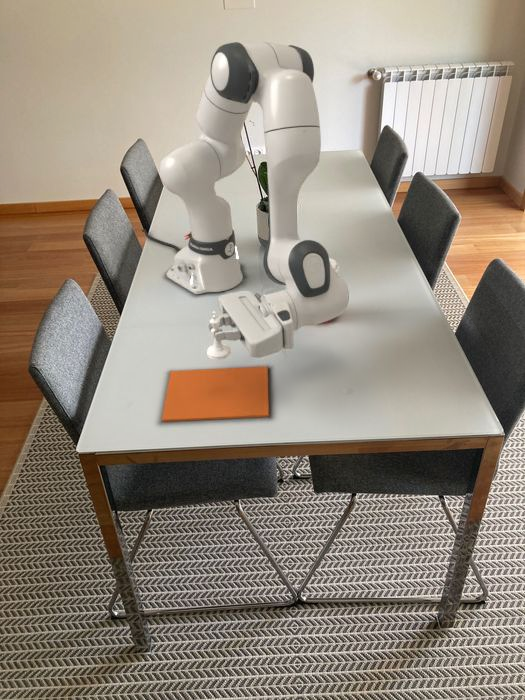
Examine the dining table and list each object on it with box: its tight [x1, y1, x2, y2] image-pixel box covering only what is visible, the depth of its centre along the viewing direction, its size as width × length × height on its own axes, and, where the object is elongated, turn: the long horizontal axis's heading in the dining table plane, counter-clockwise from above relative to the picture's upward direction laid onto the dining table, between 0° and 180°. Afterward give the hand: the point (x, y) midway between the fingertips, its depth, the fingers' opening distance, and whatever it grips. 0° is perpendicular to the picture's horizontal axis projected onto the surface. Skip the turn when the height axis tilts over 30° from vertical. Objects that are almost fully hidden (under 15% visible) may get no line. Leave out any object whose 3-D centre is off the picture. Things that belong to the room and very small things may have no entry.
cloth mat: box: [161, 366, 270, 422], centre depth 129 cm, size 22×16×1 cm
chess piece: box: [206, 310, 232, 361], centre depth 121 cm, size 5×5×10 cm
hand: (212, 332), depth 120 cm, fingers closed on chess piece
